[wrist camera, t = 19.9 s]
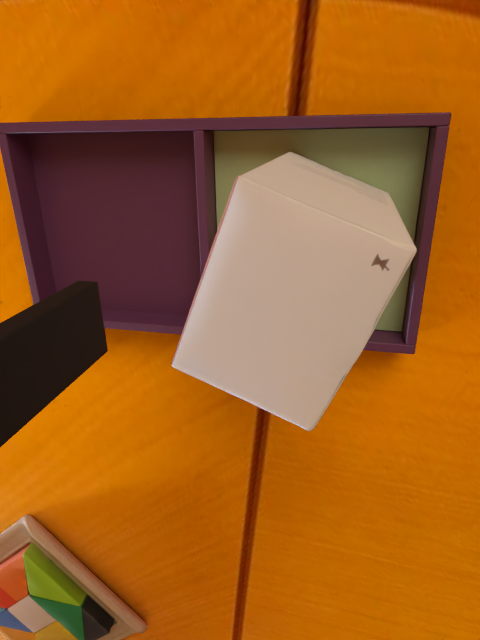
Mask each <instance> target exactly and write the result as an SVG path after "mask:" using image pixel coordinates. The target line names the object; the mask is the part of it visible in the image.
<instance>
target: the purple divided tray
mask: <svg viewBox="0 0 480 640" xmlns="http://www.w3.org/2000/svg"><path fill="white" fill-rule="evenodd" d="M450 119H451V113H450V112H449V113H406V114H363V115H320V116H277V117H234V118H191V119H148V120H104V121H61V122H18V123H0V148H1V153H2V158H3V162H4V167H5V172H6V176H7V181H8V186H9V191H10V195H11V200H12V205H13V209H14V214H15V219H16V224H17V228H18V233H19V238H20V243H21V247H22V252H23V257H24V261H25V266H26V271H27V276H28V280H29V285H30V290H31V294H32V299H33V304H34V305H35V304H36V303H38V302H40V301H42V300H44V299H45V298H47V297H49V296H51V295H53V294H55V293H56V292H58V291H60V290H62V289H64V288H66V287H67V286H69V285H71V284H73V283H75V282H77V281H93V282H98V288H99V295H100V302H101V309H102V316H103V323H104V328H112V329H124V330H136V331H147V332H159V333H171V334H182V332H183V329H184V326H185V323H186V320H187V317H188V314H189V311H190V308H191V305H192V302H193V300H194V297H195V294H196V291H197V288H198V285H199V282H200V280H201V277H202V274H203V271H204V268H205V265H206V262H207V259H208V256H209V253H210V250H211V248H212V245H213V242H214V239H215V236H216V233H217V230H218V227H219V225H220V222H221V219H222V216H223V213H224V211H225V208H226V205H227V202H228V199H229V196H230V193H231V191H232V188H233V185H234V182H235V180H236V178H237V177H238V176H240V175H242V174H245V173H246V172H248V171H251V170H253V169H255V168H257V167H259V166H261V165H263V164H265V163H267V162H269V161H272V160H273V159H275V158H277V157H279V156H282V155H284V154H286V153H288V152H293V153H296V154H298V155H300V156H303V157H305V158H308V159H310V160H312V161H315V162H317V163H319V164H321V165H324V166H326V167H328V168H331V169H333V170H335V171H338V172H340V173H342V174H345V175H347V176H350V177H352V178H354V179H357V180H359V181H361V182H364V183H366V184H369V185H371V186H373V187H376V188H378V189H380V190H383V191H385V192H387V193H389V195H390V196H391V199H392V200H393V203H394V204H395V206H396V208H397V211H398V213H399V215H400V217H401V219H402V221H403V223H404V225H405V227H406V229H407V231H408V233H409V235H410V237H411V239H412V241H413V243H414V245H415V247H416V249H417V252H416V254H415V256H414V258H413V260H412V261H411V263H410V265H409V267H408V268H407V270H406V272H405V274H404V275H403V277H402V279H401V281H400V283H399V284H398V286H397V288H396V290H395V292H394V293H393V295H392V297H391V298H390V300H389V302H388V304H387V306H386V307H385V309H384V311H383V313H382V315H381V317H380V319H379V321H378V323H377V325H376V327H375V329H374V331H373V333H372V335H371V337H370V338H369V340H368V342H367V344H366V345H365V347H364V349H363V350H371V351H382V352H394V353H406V354H414V353H415V347H416V346H415V345H416V341H417V334H418V328H419V321H420V315H421V308H422V302H423V295H424V289H425V282H426V276H427V269H428V263H429V256H430V250H431V243H432V236H433V230H434V223H435V217H436V210H437V204H438V197H439V191H440V184H441V178H442V171H443V165H444V158H445V152H446V145H447V139H448V132H449V125H450Z"/></svg>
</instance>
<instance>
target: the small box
mask: <svg viewBox="0 0 480 640" xmlns="http://www.w3.org/2000/svg"><path fill="white" fill-rule="evenodd" d="M416 252H417V249H416V247H415V245H414V243H413V241H412V239H411V237H410V235H409V233H408V231H407V229H406V227H405V225H404V223H403V221H402V219H401V217H400V215H399V213H398V211H397V208H396V206H395V204H394V203H393V200H392V199H391V196H390V195H389V193H387V192H385V191H383V190H380V189H378V188H376V187H373V186H371V185H369V184H366V183H364V182H361V181H359V180H357V179H354V178H352V177H350V176H347V175H345V174H342V173H340V172H338V171H335V170H333V169H331V168H328V167H326V166H324V165H321V164H319V163H317V162H315V161H312V160H310V159H308V158H305V157H303V156H300V155H298V154H296V153H293V152H288V153H286V154H284V155H282V156H279V157H277V158H275V159H273V160H272V161H269V162H267V163H265V164H263V165H261V166H259V167H257V168H255V169H253V170H251V171H248V172H246V173H245V174H242V175H240V176H238V177H237V178H236V180H235V182H234V185H233V188H232V191H231V193H230V196H229V199H228V202H227V205H226V208H225V211H224V213H223V216H222V219H221V222H220V225H219V227H218V230H217V233H216V236H215V239H214V242H213V245H212V248H211V250H210V253H209V256H208V259H207V262H206V265H205V268H204V271H203V274H202V277H201V280H200V282H199V285H198V288H197V291H196V294H195V297H194V300H193V302H192V305H191V308H190V311H189V314H188V317H187V320H186V323H185V326H184V329H183V332H182V334H181V337H180V340H179V343H178V346H177V349H176V352H175V355H174V358H173V361H172V364H171V365H172V367H174V368H175V369H178V370H180V371H182V372H184V373H186V374H188V375H191V376H193V377H195V378H197V379H199V380H202V381H204V382H206V383H208V384H210V385H212V386H215V387H217V388H219V389H221V390H223V391H225V392H228V393H230V394H232V395H234V396H236V397H238V398H241V399H243V400H245V401H247V402H249V403H251V404H253V405H256V406H258V407H260V408H262V409H264V410H266V411H268V412H270V413H272V414H274V415H276V416H279V417H281V418H283V419H285V420H287V421H289V422H291V423H293V424H295V425H297V426H299V427H301V428H303V429H305V430H307V431H311V430H313V429H314V428H315V427H316V425H317V423H318V422H319V420H320V419H321V417H322V415H323V414H324V412H325V411H326V409H327V407H328V406H329V404H330V402H331V401H332V399H333V397H334V396H335V394H336V392H337V391H338V389H339V387H340V386H341V384H342V382H343V381H344V379H345V377H346V376H347V374H348V372H349V371H350V369H351V368H352V366H353V365H354V363H355V362H356V360H357V359H358V357H359V356H360V354H361V352H362V351H363V349H364V347H365V345H366V344H367V342H368V340H369V338H370V337H371V335H372V333H373V331H374V329H375V327H376V325H377V323H378V321H379V319H380V317H381V315H382V313H383V311H384V309H385V307H386V306H387V304H388V302H389V300H390V298H391V297H392V295H393V293H394V292H395V290H396V288H397V286H398V284H399V283H400V281H401V279H402V277H403V275H404V274H405V272H406V270H407V268H408V267H409V265H410V263H411V261H412V260H413V258H414V256H415V254H416Z"/></svg>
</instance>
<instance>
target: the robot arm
mask: <svg viewBox="0 0 480 640" xmlns="http://www.w3.org/2000/svg"><path fill="white" fill-rule="evenodd" d="M107 351H108V350H107V343H106V336H105V330H104V323H103V316H102V309H101V302H100V295H99V288H98V282H93V281H77V282H75V283H73V284H71V285H69V286H67V287H66V288H64V289H62V290H60V291H58V292H56V293H55V294H53V295H51V296H49V297H47V298H45V299H44V300H42V301H40V302H38V303H36V304H35V305H33V306H31V307H29V308H27V309H25V310H24V311H22V312H20V313H18V314H16V315H14V316H13V317H11V318H9V319H7V320H5V321H3V322H2V323H0V447H1V446H2V445H3V444H4V443H6V442H7V441H8V440H9V439H10V438H11V437H12V436H13V435H14V434H16V433H17V432H18V431H19V430H20V429H21V428H22V427H23V426H24V425H26V424H27V423H28V422H29V421H30V420H31V419H32V418H33V417H35V416H36V415H37V414H38V413H39V412H40V411H41V410H42V409H43V408H45V407H46V406H47V405H48V404H49V403H50V402H51V401H52V400H54V399H55V398H56V397H57V396H58V395H59V394H60V393H61V392H62V391H64V390H65V389H66V388H67V387H68V386H69V385H70V384H71V383H72V382H74V381H75V380H76V379H77V378H78V377H79V376H80V375H81V374H83V373H84V372H85V371H86V370H87V369H88V368H89V367H90V366H91V365H93V364H94V363H95V362H96V361H97V360H98V359H99V358H100V357H102V356H103V355H104V354H105V353H106V352H107Z"/></svg>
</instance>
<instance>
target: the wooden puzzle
mask: <svg viewBox="0 0 480 640" xmlns="http://www.w3.org/2000/svg"><path fill="white" fill-rule="evenodd" d="M146 628H147V624H146V622H145V621H144V620H142V619H141V618H140V617H139V616H138V615H137V614H136V613H135V612H134V611H133V610H132V609H131V608H130V607H128V606H127V605H126V604H125V603H124V602H123V601H122V600H121V599H120V598H119V597H118V596H117V595H116V594H114V593H113V592H112V591H111V590H110V589H109V588H108V587H107V586H106V585H105V584H104V583H103V582H102V581H101V580H99V579H98V578H97V577H96V576H95V575H94V574H93V573H92V572H91V571H90V570H89V569H88V568H87V567H86V566H85V565H83V564H82V563H81V562H80V561H79V560H78V559H77V558H76V557H75V556H74V555H73V554H72V553H71V552H70V551H69V550H68V549H66V548H65V547H64V546H63V545H62V544H61V543H60V542H59V541H58V540H57V539H56V538H55V537H54V536H53V535H52V534H51V533H50V532H49V531H47V530H46V529H45V528H44V527H43V526H42V525H41V524H40V523H39V522H38V521H37V520H36V519H35V518H34V517H33V516H31V515H26V516H24V517H22V518H21V519H20V520H18V521H17V522H16V523H14V524H13V525H12V526H10V527H9V528H8V529H6V530H5V531H4V532H2V533H1V534H0V635H1V636H3V637H4V638H5V639H6V640H122V639H124V638H126V637H128V636H130V635H132V634H134V633H136V632H138V633H143V632H145V630H146Z"/></svg>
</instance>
